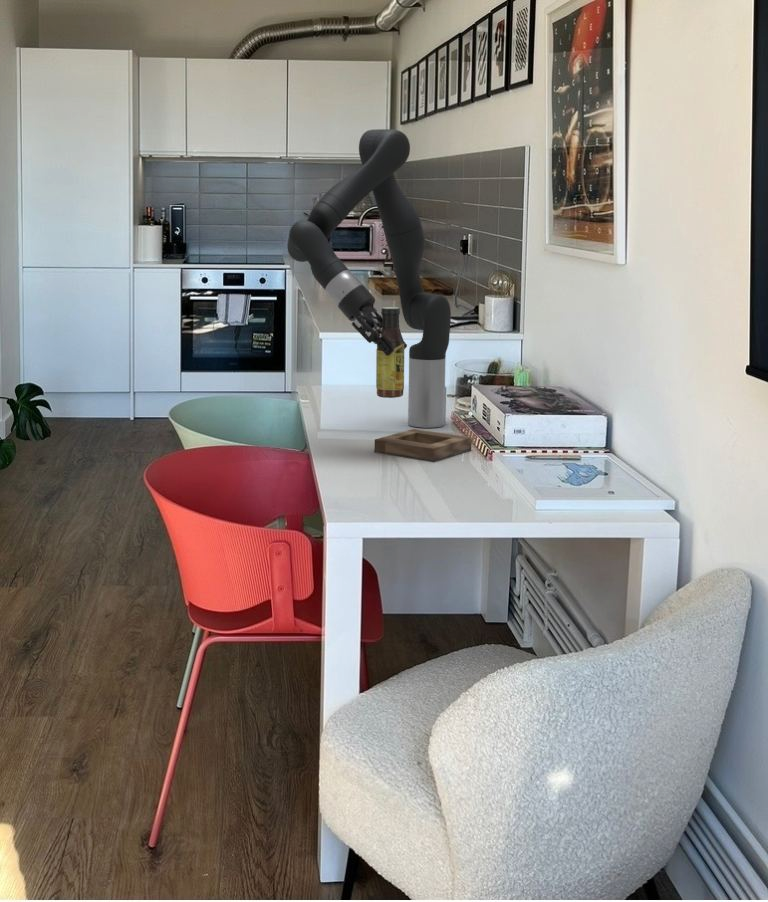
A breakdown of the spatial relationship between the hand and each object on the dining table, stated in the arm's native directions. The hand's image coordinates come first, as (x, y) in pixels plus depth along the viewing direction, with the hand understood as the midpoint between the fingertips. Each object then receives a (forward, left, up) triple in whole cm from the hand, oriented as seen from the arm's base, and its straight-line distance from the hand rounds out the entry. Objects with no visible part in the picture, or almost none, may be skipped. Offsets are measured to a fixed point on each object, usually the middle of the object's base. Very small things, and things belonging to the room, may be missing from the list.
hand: (397, 350), depth 268 cm
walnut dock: (-7, +3, -24) cm, 25 cm away
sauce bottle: (0, -2, -11) cm, 11 cm away
